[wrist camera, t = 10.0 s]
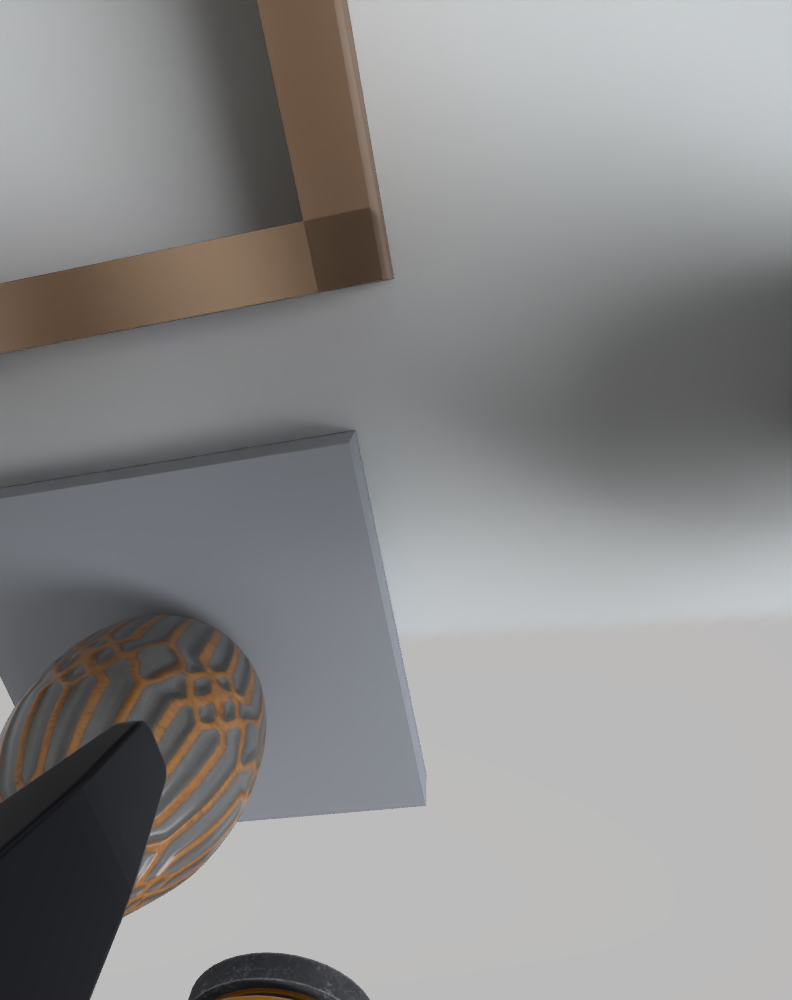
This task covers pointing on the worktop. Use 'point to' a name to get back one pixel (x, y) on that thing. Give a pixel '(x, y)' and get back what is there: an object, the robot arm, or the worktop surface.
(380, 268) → the holder
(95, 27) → the worktop surface
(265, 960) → the canister
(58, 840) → the robot arm
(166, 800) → the vase
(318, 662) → the board
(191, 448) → the worktop surface
